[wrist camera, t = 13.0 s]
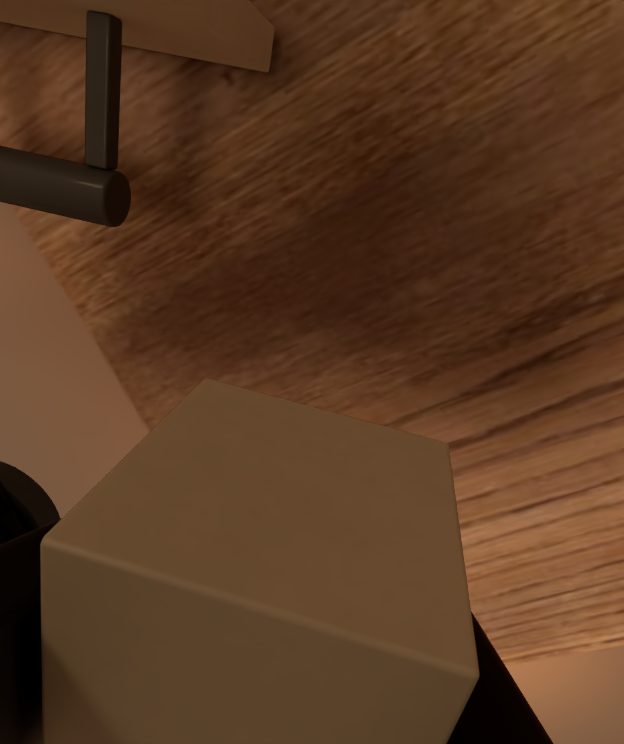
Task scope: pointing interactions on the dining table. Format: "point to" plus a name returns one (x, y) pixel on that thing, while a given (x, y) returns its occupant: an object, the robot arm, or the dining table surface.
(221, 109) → the dining table surface
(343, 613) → the block
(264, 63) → the drawer
